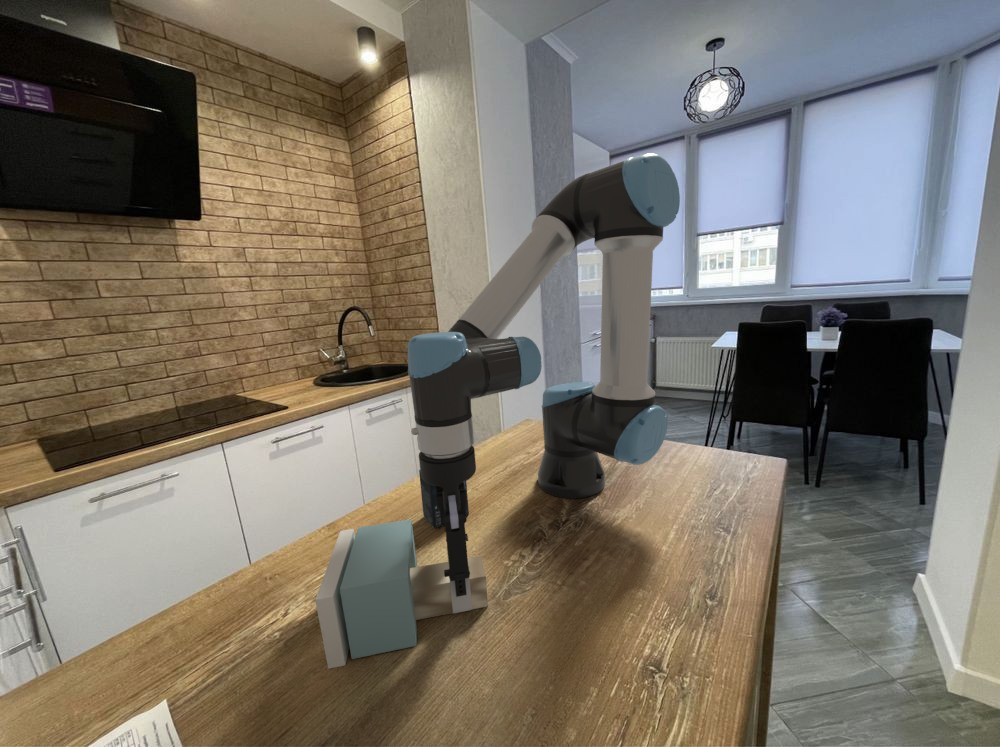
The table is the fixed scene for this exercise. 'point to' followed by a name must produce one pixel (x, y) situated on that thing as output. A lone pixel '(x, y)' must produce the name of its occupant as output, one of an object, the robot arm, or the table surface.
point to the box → (434, 503)
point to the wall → (335, 602)
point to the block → (380, 589)
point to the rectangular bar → (444, 588)
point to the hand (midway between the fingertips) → (460, 595)
